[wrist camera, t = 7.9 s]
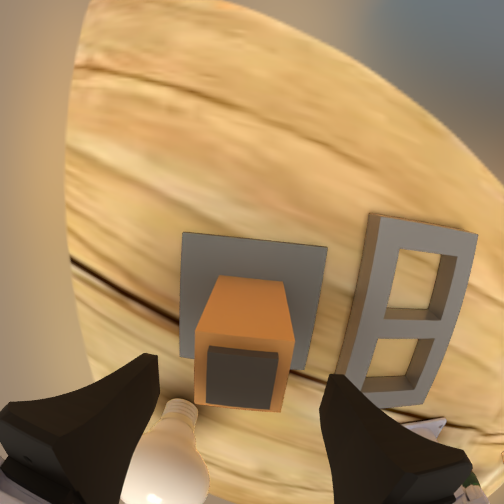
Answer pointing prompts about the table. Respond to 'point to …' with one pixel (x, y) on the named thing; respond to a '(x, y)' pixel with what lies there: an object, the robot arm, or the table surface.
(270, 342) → the plug
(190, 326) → the mat
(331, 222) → the table surface
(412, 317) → the grey flat frame
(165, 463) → the lightbulb
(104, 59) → the table surface
